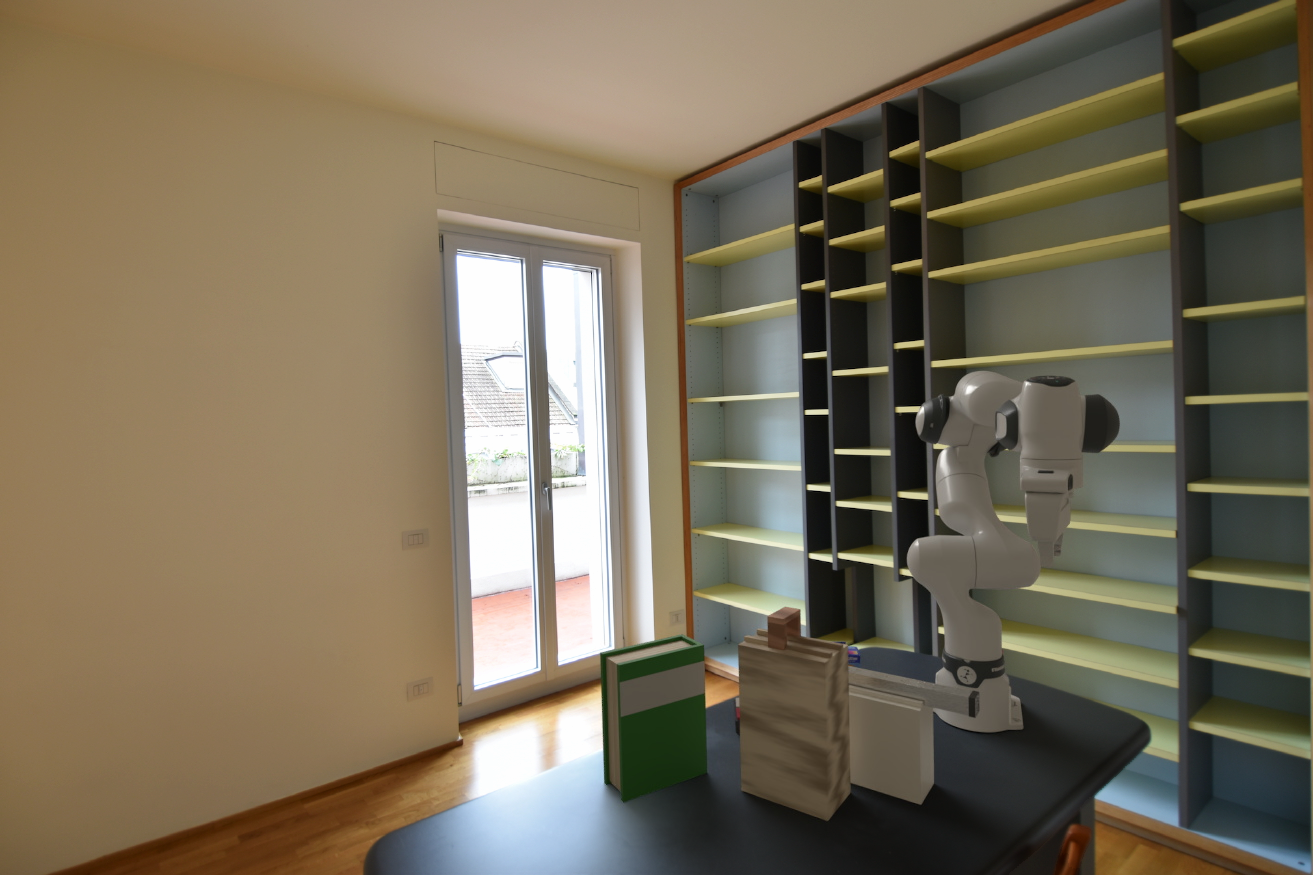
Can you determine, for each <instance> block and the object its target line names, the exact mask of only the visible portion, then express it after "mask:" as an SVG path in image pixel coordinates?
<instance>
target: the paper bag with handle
mask: <svg viewBox="0 0 1313 875" xmlns="http://www.w3.org/2000/svg"><path fill="white" fill-rule="evenodd" d="M766 617H767V620H766V621H767V629H766V628H761V627H759V628H757V629H756V634H754V635H749V634H746V635H745V636H743V638H744V640H743V641H742V642H740V643H738V645H737V658H738V659H737V660H738V662H737V664H738V691H739V692H738V698H739V708H740V733H739V741H740V742H739V743H740V744H739V746H740V779H741V780H740V786H741V788H740V789H741V791H742V792H745V793H747V794H751V795H753V796H756V797H758V798H761V799H763V800H764V799H765V800H767V801H770V802H772V803H774V804H778V805H781V806H785V807H786V808H789V809H793V810H796V811H798V812H801V813H804V814H807V815H809V816H812V817H816V818H818V819H820V820H823V821H825V822H828V821H829V820H830V819H831V818H832V817H833V815H834V814H835V813H836V811H837V810H838V809H839V808H840V807H841V805H842V804H843V803H844V802H845V800H846V799H847V798H848V796H849V795H850V794H851V790H852V788H851V783H850V727H849V669H848V646H849V645H848V644H847V643H846V644H841V643H836V642H837V641H830V640H824V639H819V638H813V637H807V636H803V635H802V627H801V626H802V623H801V622H802V620H801V619H802V617H801V608H795V607H790V606H784V607H782V608H780V609H778V610H776V611H774V612H773V613H770V614H769V615H767V616H766Z"/></svg>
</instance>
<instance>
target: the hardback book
mask: <svg viewBox="0 0 1313 875" xmlns="http://www.w3.org/2000/svg"><path fill="white" fill-rule="evenodd" d="M599 655H600V656H599V657H600V658H599V660H600V689H601V690H600V691H601V725H602V726H601V728H602V755H603V757H602V758H603V762H602V763H603V784H604V785H605V784H606V785H607V786H608V785H613V786H614V787H615V788H616V789H618V791H619V792H620V801H621V802H622V803H626V802H630V801H633V800H636V799H637V798H641V797H643V796H645V795H646V796H647V795H648V794H652V793H654V792H658V791H659V790H663V789H666V788H669V787H671V786H674V785H676V784H679V783H682V782H686V781H688V780H691V779H694V778H697V777H699V776H702V775H705V774H707V773H708V747H707V746H708V745H707V743H708V742H707V706H706V703H707V700H706V699H707V698H706V671H705V666H706V665H705V644H703V643H701V642H699V641H697V640H695V639H693V638H691V637H690V636H688V635H685V634H683V633H681V634H677V635H673V636H667V637H663V638H659V639H655V640H651V641H646V642H641V643H637V644H632V645H629V646H623V647H620V648H619V647H618V648H615V649H611V650H606V651H601V652H599ZM606 785H605V786H606Z"/></svg>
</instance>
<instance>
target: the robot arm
mask: <svg viewBox="0 0 1313 875" xmlns="http://www.w3.org/2000/svg"><path fill="white" fill-rule="evenodd" d="M1120 421H1121V420H1120V415H1119V412H1118V410H1117V409H1116V406H1115V405H1113V403H1111V402H1110V401H1109V400H1108V399H1107V398H1105V397H1104V395H1103V396H1102V395H1101V394H1099V393H1098V394H1097V393H1096V394H1095V393H1094V394H1085V395H1084V394H1083V395H1081V394H1080V388H1079V384H1078V382H1077V380H1075V379H1073V378H1071V377H1068V376H1065V375H1064V376H1063V375H1062V376H1061V375H1060V376H1059V375H1057V376H1056V375H1038V376H1032V377H1030V378H1026V379H1025V380H1024V381H1023V382H1022V381H1019V380H1016V379H1013V378H1011V377H1008V376H1005V375H1002V373H1001V374H1000V373H999V372H994V371H989V370H977V371H972V372H969V373H968V374H965V375H963V377H961V379H960V380H959V381H958V383H957V385H956V387H955V391H954V394H953V395H952V396H945V394H944V393H941V394H939V395H938V396H937V397H934V398H930V399H928V400H926V401H925V402H923V403H922V404H921V405H920V407H919V409H918V411H917V413H916V417H915V428H916V432H917V435H918V437H919V439H920V440H921V441H923V442H925V443H928V444H932V445H936V444H939V445H942V446H947V447H945V448H943V449H942V450H941V451H940V452H939V454H938V457H937V461H936V468H935V488H936V498H937V508H938V509H937V510H938V515H939V517H940V519H941V521H942V522H943V523H944V524H945V526H946V527H948V528H949V529H951V530H953V531H954V532H957V533H959V534H961V535H947V534H946V535H945V534H943V535H942V534H935V535H931V536H930V535H929V536H924V537H919V538H916V539H915V540H914V541H913V542H912V543H911V545H910V547H909V548H908V552H907V554H906V564H907V567H908V570H909V573H910V574H911V576H912V577H913V579H914V580H915V581H916V582H918V583H919V584H920V585H922V587H924V588H926V590H928V592H930V594H931V595H932V596H933V598H934V599H935V601H936V603H937V604H938V606H939V609H940V612H941V616H942V623H943V631H944V647H943V648H942V654H941V659H942V666H943V667H942V668H940V670H938V671H937V672H936V673H935V684H940V685H945V686H949V687H954V688H959V689H964V690H969V691H978V692H979V708H980V711H979V713H978V714H977V716H976V718H973V717H969V716H968V715H964V714H959V713H955V712H950V711H946V710H941V709H937V708H933V713H935V714H936V715H937V716H938V717H939V718H940V719H941V720H942V721H943V722H945V723H947V724H949V725H951V726H954V727H957V728H959V729H963V730H967V731H972V732H979V733H997V732H1003V731H1008V730H1012V731H1013V730H1015V731H1018V730H1023V729H1024V721H1023V714H1022V713H1023V711H1022V706H1021V705H1022V703H1021V699H1020V698H1019V697H1018V696H1016V695H1013V694H1012V686H1010V677H1009V676H1008V675H1007V673H1005V672H1006V660H1005V656H1004V650H1003V648H1002V647H1003V639H1002V638H1003V637H1002V636H1003V635H1002V634H1003V633H1002V632H1003V630H1002V628H1003V626H1002V625H1003V624H1002V620H1001V619H1000V617H999V614H997V612H996V611H994V610H993V609H992V608H990V607H988V606H987V605H984V604H983V603H981V602H978V601H977V600H975V599H974V598H972V597H971V596H970V593H969V592H970V590H973V589H979V590H980V589H982V590H1002V591H1004V590H1005V591H1007V590H1008V591H1009V590H1014V589H1015V590H1016V589H1021V588H1022V589H1023V588H1030V587H1032V586H1033V585H1034V584H1035V583H1036V581H1037V580H1038V579H1039V577H1040V575H1041V569H1042V568H1053V567H1054V565H1055V557H1059V556H1061V555H1062V554H1063V552H1062V550H1063V546H1062V545H1063V539H1064V532H1065V531H1066V529H1067V528H1068V527H1069V525H1070V523H1071V520H1072V519H1071V518H1072V517H1071V515H1072V514H1071V499H1073V498H1074V497H1075V494H1074V491H1075V490H1076V489H1082V488H1083V487H1084V473H1083V472H1084V465H1083V464H1084V458H1083V457H1084V456H1083V453H1085V454H1089V453H1090V454H1099V453H1101V452H1103V451H1104V450H1105V449H1107V448H1108V447H1109V446H1110V445H1111V444H1113V442H1114V441H1115V440H1116V438H1117V437H1118V435H1119V432H1120V429H1121V428H1120V427H1121V426H1120V425H1121V422H1120ZM1006 450H1008V451H1013V452H1015V453H1016V452H1017V453H1020V455H1019V484H1020V486H1019V487H1020V488H1019V489H1020V491H1021V492H1025V493H1024V504H1025V505H1024V506H1025V516H1026V518H1025V519H1026V525H1027V531H1028V532H1027V533H1028V537H1029V539H1030V541H1031V542H1032V541H1033V542H1037V547H1038V548H1037V549H1036V547H1034V545H1033V544H1032V543H1030V542H1029V541H1028V540H1027V539H1024V538H1022V537H1021V536H1019V535H1017V534H1015V533H1014V532H1013V531H1012V530H1010V529H1009V528H1008V527H1007V526H1006V525H1005V524H1004V523H1003V522H1002V521H1001V519H1000V518H999V517H998V515H997V513H996V511H995V508H994V505H993V502H992V497H991V492H990V486H989V480H988V476H987V472H986V468H985V460H986V456H987V454H989V456H990V457H991V458H996V457H998V456H999V455H1000V453H1001V452H1004V451H1006ZM1037 550H1038V551H1037Z"/></svg>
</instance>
